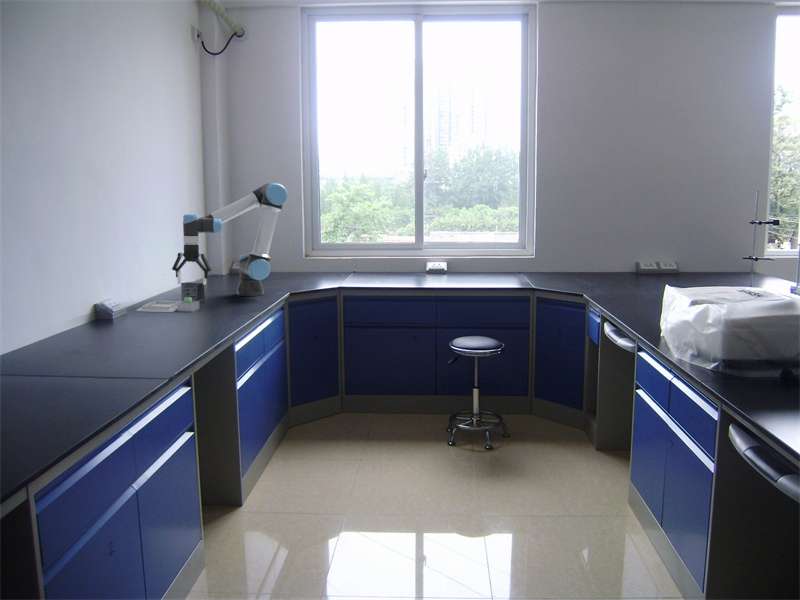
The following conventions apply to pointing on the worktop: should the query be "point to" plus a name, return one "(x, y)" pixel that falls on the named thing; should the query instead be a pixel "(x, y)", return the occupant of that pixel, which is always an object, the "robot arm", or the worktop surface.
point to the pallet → (160, 306)
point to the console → (188, 306)
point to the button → (188, 300)
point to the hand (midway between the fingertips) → (192, 284)
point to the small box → (193, 291)
